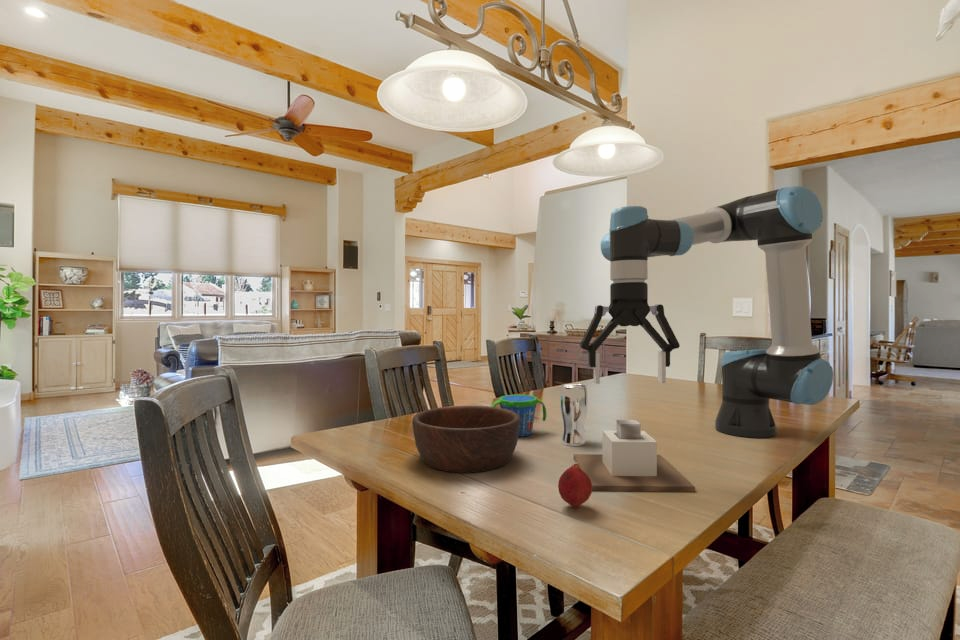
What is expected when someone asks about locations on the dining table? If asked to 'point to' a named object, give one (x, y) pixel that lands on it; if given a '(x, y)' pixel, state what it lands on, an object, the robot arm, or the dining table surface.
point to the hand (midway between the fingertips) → (629, 382)
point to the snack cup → (522, 410)
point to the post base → (605, 481)
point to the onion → (575, 486)
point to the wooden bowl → (466, 437)
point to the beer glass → (573, 413)
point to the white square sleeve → (629, 455)
